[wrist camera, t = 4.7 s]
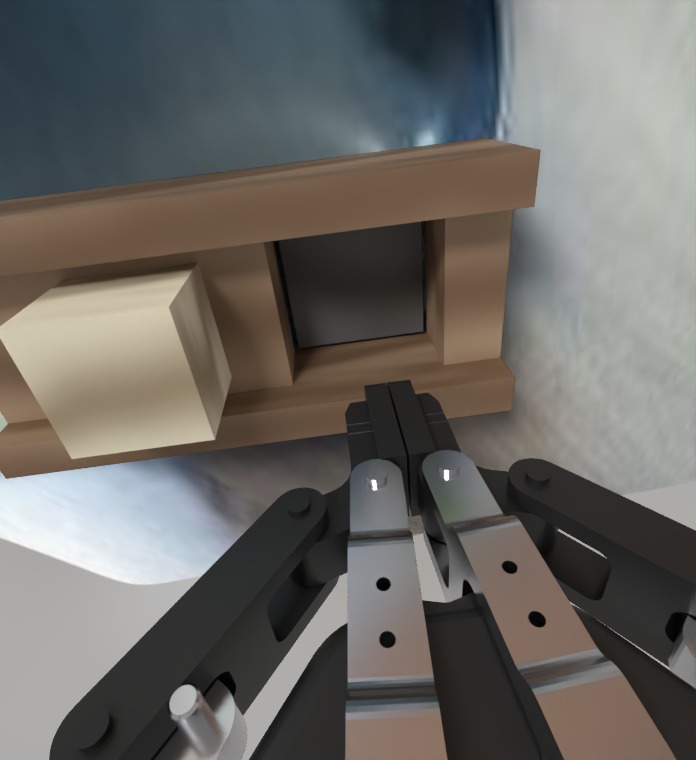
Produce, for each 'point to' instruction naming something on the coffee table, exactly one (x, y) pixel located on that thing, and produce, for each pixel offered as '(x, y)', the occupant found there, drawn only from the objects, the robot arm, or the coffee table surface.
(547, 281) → the coffee table surface
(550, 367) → the coffee table surface
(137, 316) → the birch block
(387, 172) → the channel deck
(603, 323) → the coffee table surface
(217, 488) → the coffee table surface
